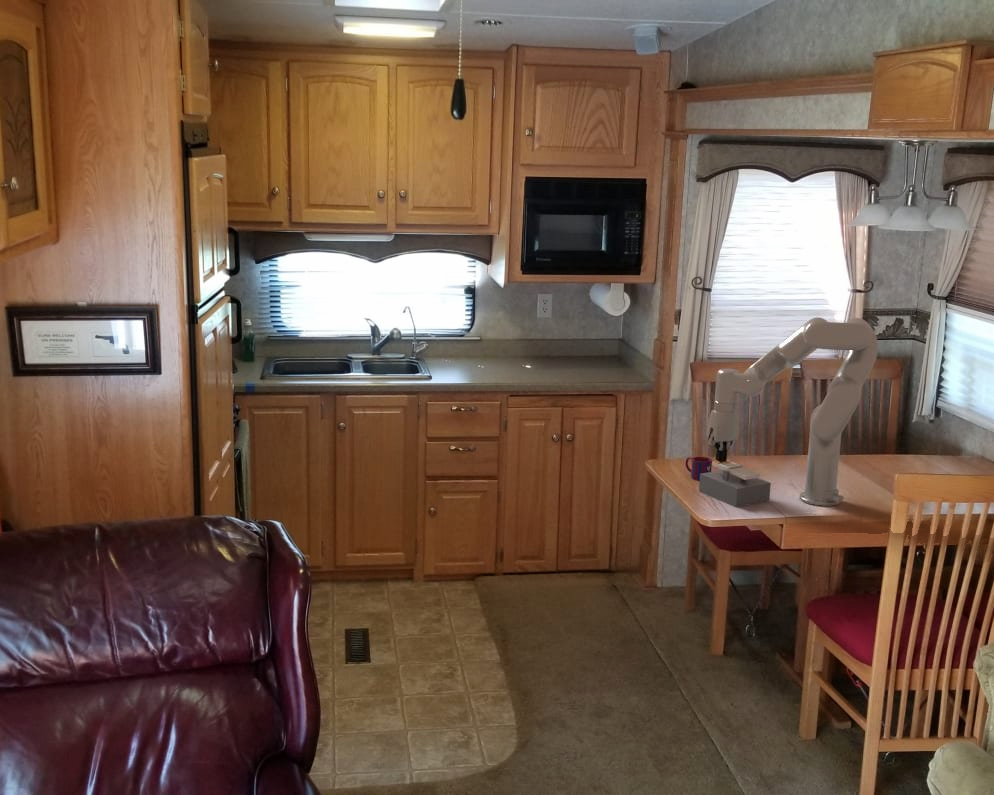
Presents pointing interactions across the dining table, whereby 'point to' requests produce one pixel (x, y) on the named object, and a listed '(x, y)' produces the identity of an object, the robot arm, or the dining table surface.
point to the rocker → (736, 469)
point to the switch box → (734, 488)
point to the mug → (699, 466)
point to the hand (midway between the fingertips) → (720, 460)
